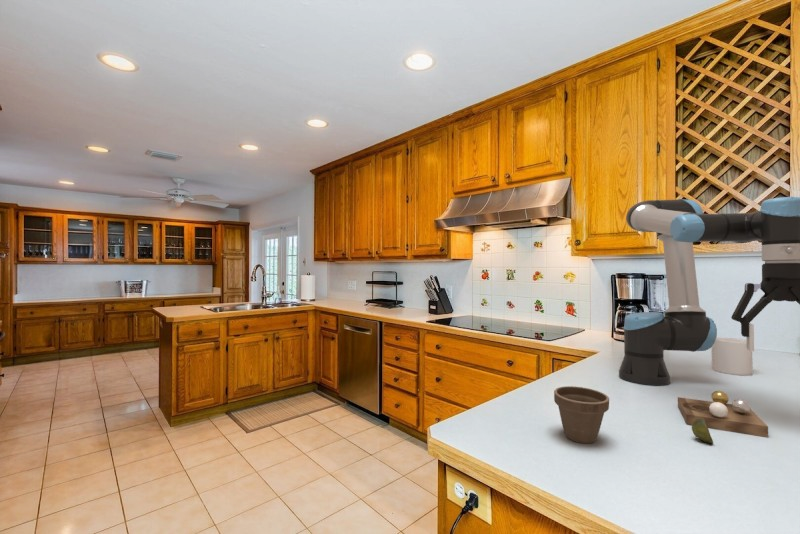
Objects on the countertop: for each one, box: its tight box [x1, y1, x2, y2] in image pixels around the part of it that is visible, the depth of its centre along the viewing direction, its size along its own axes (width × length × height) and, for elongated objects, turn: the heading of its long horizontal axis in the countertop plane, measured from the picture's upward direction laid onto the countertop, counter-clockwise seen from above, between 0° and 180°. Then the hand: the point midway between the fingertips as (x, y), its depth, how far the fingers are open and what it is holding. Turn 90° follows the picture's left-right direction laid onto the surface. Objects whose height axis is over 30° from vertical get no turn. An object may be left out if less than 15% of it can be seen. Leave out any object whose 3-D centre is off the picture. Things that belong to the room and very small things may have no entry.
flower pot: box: [553, 385, 610, 444], centre depth 87 cm, size 12×11×10 cm
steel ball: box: [731, 398, 752, 414], centre depth 95 cm, size 4×4×4 cm
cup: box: [711, 336, 754, 377], centre depth 145 cm, size 12×12×12 cm
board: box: [677, 396, 769, 438], centre depth 97 cm, size 15×15×2 cm
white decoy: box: [709, 401, 728, 417], centre depth 93 cm, size 4×4×4 cm
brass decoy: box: [711, 390, 730, 404], centre depth 102 cm, size 4×4×4 cm
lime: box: [691, 418, 714, 444], centre depth 85 cm, size 4×5×5 cm
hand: (784, 353), depth 91 cm, fingers open, 12 cm apart
